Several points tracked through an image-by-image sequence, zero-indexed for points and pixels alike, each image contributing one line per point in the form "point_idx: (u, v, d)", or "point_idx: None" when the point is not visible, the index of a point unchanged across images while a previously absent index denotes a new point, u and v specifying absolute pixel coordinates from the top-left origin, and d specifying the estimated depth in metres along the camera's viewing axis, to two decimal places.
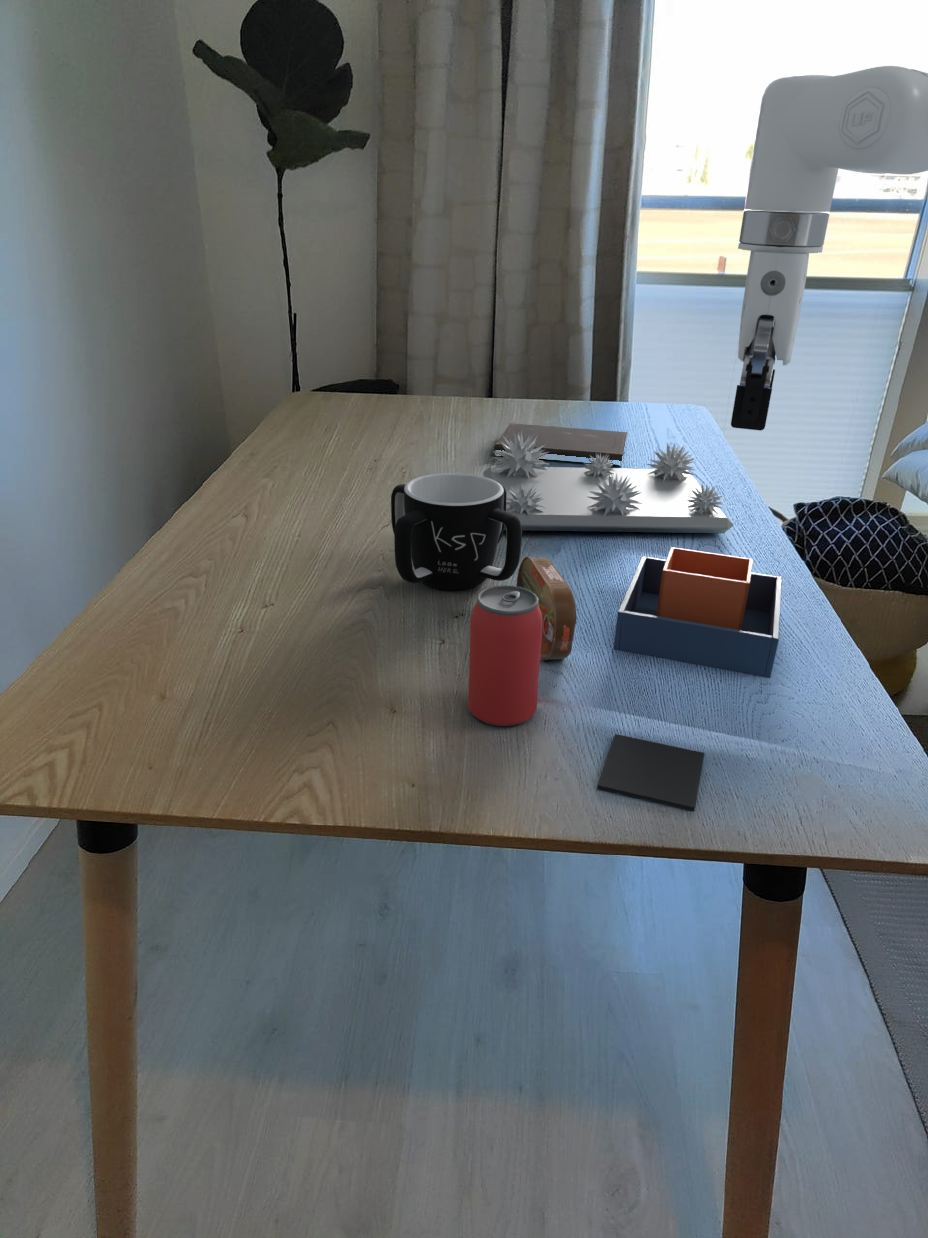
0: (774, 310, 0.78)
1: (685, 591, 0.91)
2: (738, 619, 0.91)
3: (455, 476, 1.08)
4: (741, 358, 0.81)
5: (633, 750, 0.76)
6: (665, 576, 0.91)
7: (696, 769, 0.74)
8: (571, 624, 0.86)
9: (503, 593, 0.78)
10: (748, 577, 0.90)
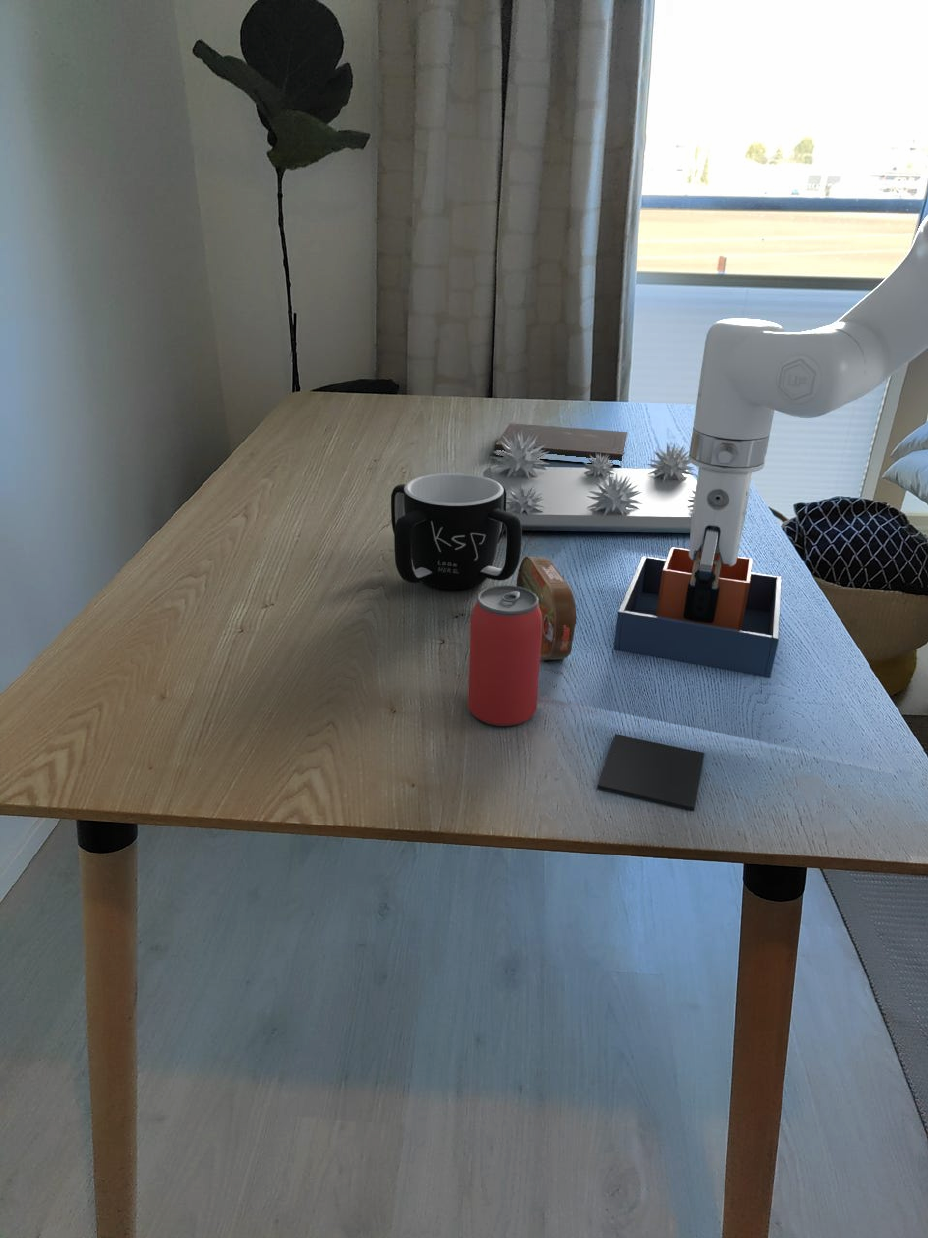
0: (719, 526, 0.85)
1: (685, 591, 0.91)
2: (738, 619, 0.91)
3: (455, 476, 1.08)
4: (691, 559, 0.88)
5: (633, 750, 0.76)
6: (665, 576, 0.91)
7: (696, 769, 0.74)
8: (571, 624, 0.86)
9: (503, 593, 0.78)
10: (748, 577, 0.90)
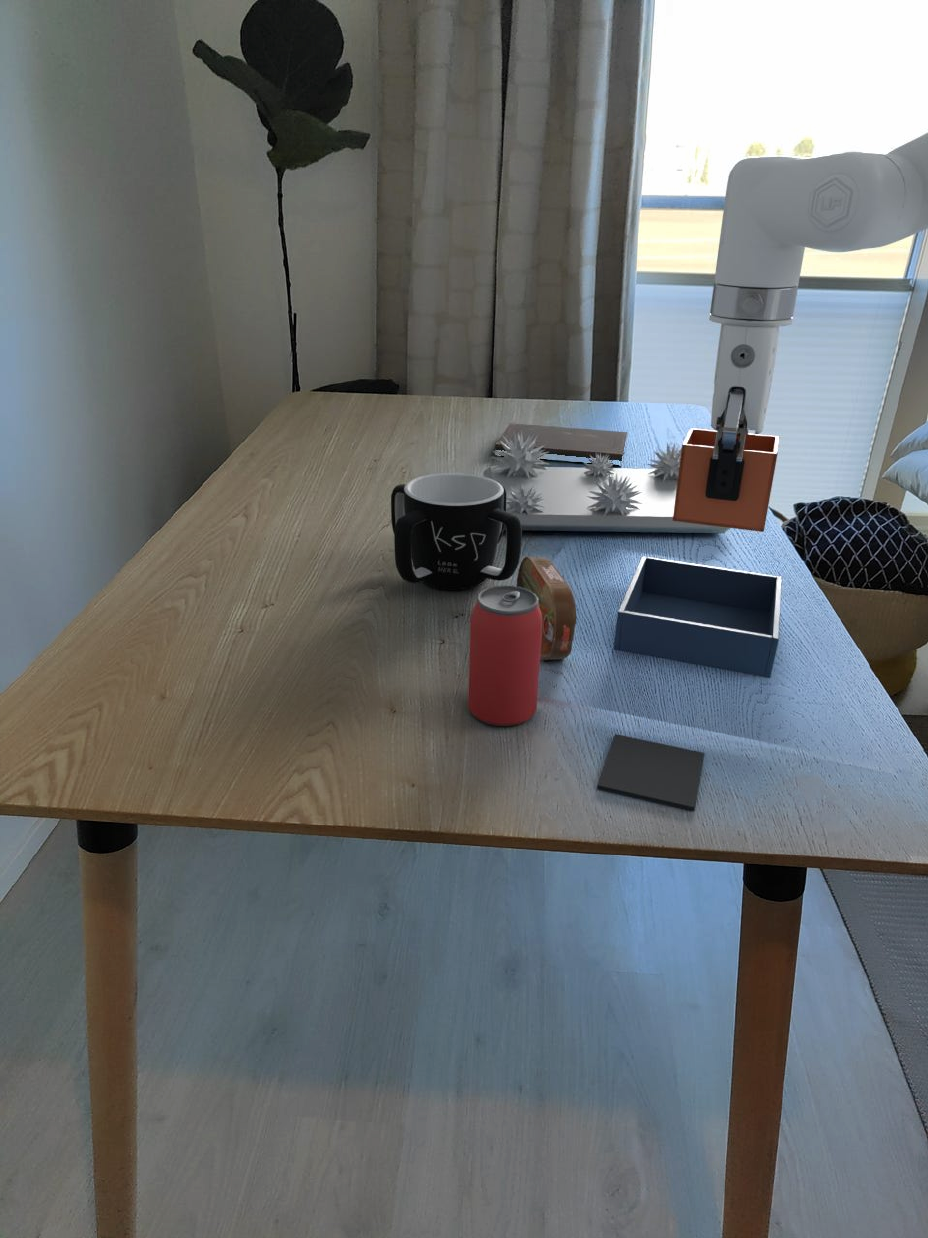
0: (744, 386, 0.79)
1: (707, 467, 0.85)
2: (765, 496, 0.84)
3: (455, 476, 1.08)
4: (714, 427, 0.82)
5: (633, 750, 0.76)
6: (685, 451, 0.85)
7: (696, 769, 0.74)
8: (571, 624, 0.86)
9: (503, 593, 0.78)
10: (775, 449, 0.83)
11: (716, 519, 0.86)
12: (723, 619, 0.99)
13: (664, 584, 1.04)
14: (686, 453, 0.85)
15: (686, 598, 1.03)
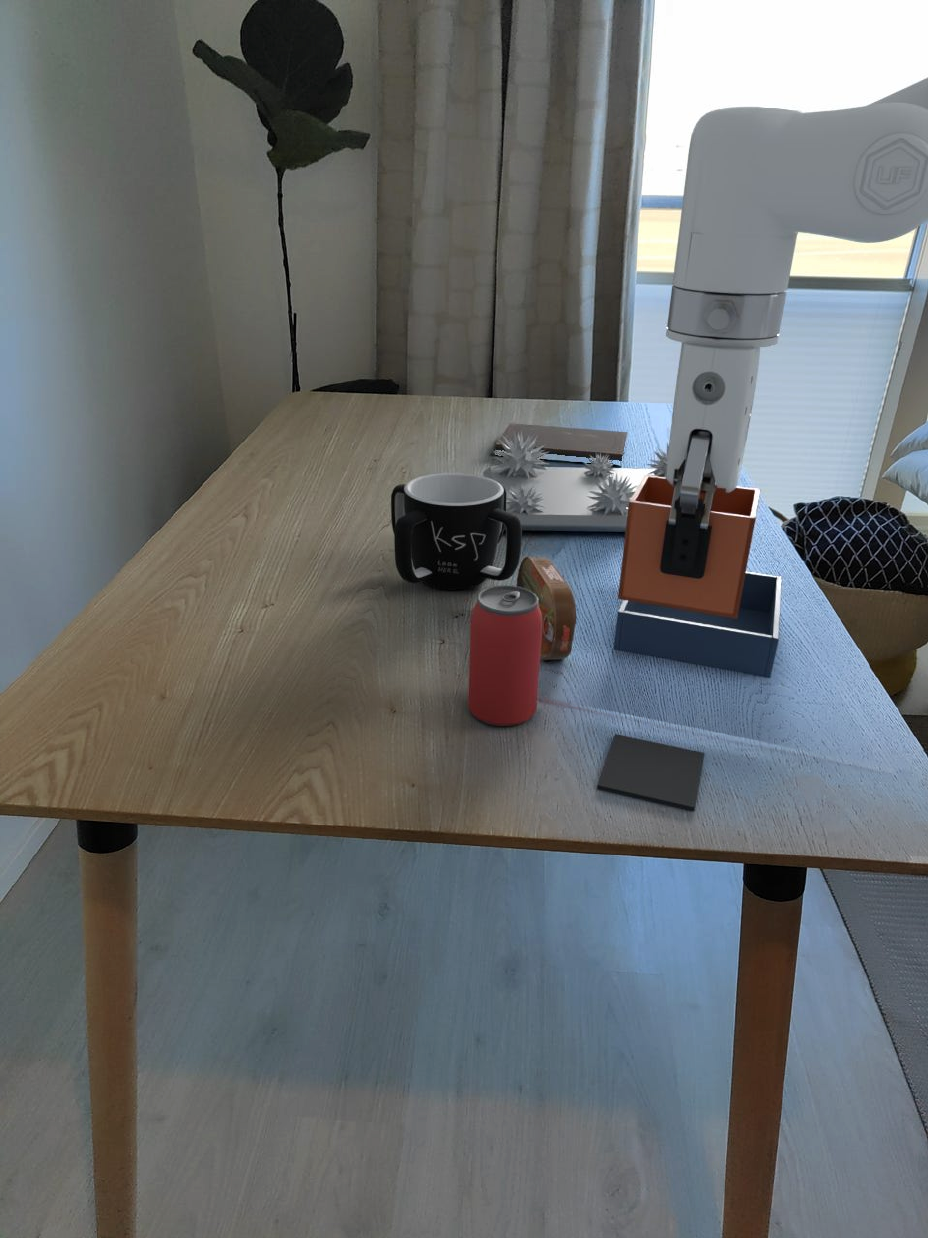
0: (710, 429, 0.57)
1: (662, 532, 0.63)
2: (738, 573, 0.62)
3: (455, 476, 1.08)
4: (670, 482, 0.60)
5: (633, 750, 0.76)
6: (633, 511, 0.63)
7: (696, 769, 0.74)
8: (571, 624, 0.86)
9: (503, 593, 0.78)
10: (753, 511, 0.62)
11: (674, 600, 0.65)
12: (723, 619, 0.99)
13: None
14: (634, 513, 0.63)
15: None
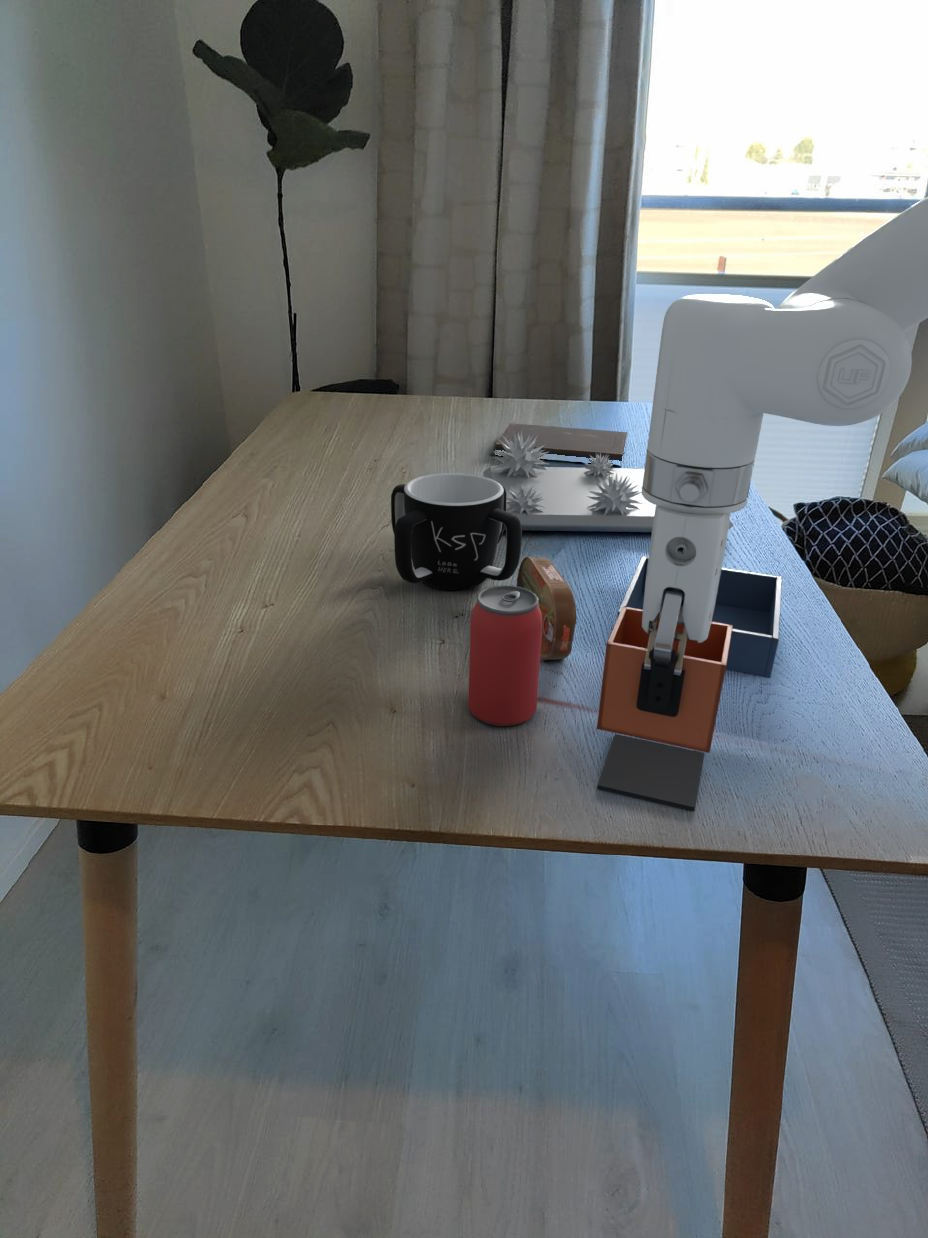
0: (682, 588, 0.60)
1: (638, 672, 0.66)
2: (710, 712, 0.66)
3: (455, 476, 1.08)
4: (645, 631, 0.63)
5: (633, 750, 0.76)
6: (610, 652, 0.66)
7: (696, 769, 0.74)
8: (571, 624, 0.86)
9: (503, 593, 0.78)
10: (724, 655, 0.65)
11: (650, 733, 0.68)
12: (723, 619, 0.99)
13: None
14: (612, 654, 0.66)
15: None
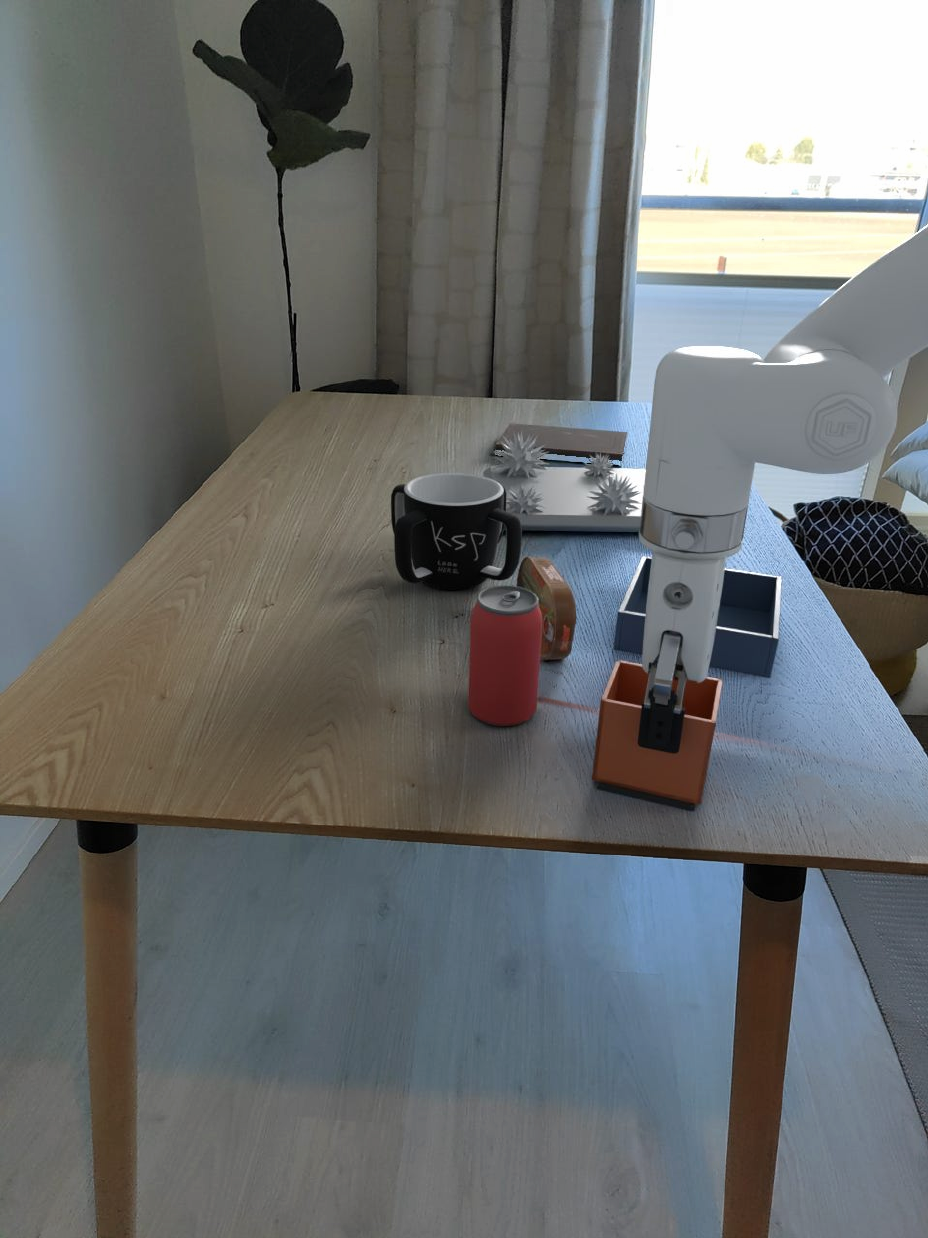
0: (681, 627, 0.62)
1: (631, 728, 0.69)
2: (701, 767, 0.68)
3: (455, 476, 1.08)
4: (646, 672, 0.65)
5: None
6: (604, 708, 0.69)
7: None
8: (571, 624, 0.86)
9: (503, 593, 0.78)
10: (714, 712, 0.67)
11: (643, 785, 0.71)
12: (723, 619, 0.99)
13: None
14: (606, 710, 0.69)
15: None
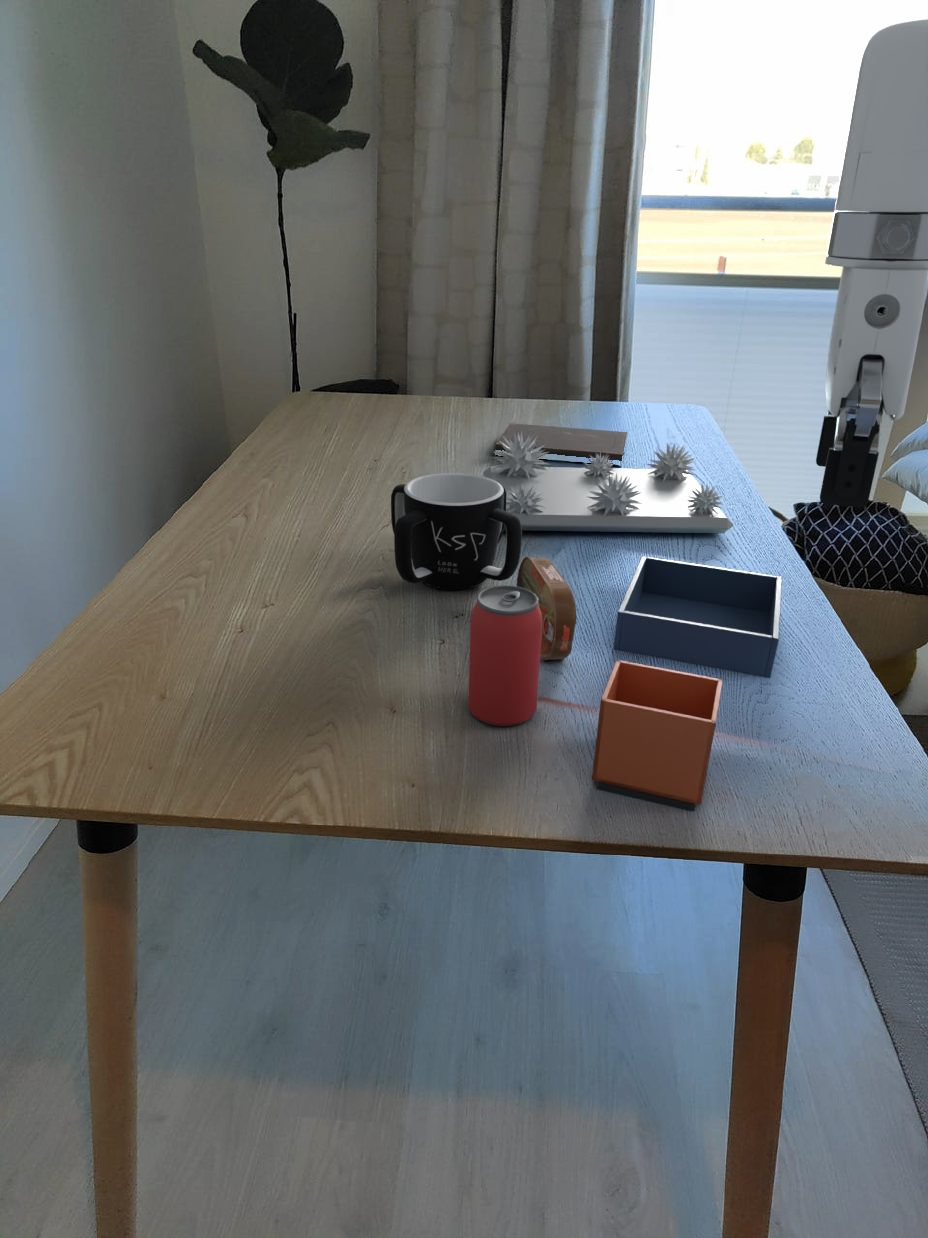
0: (884, 348, 0.56)
1: (631, 728, 0.69)
2: (701, 767, 0.68)
3: (455, 476, 1.08)
4: (835, 412, 0.60)
5: None
6: (604, 708, 0.69)
7: None
8: (571, 624, 0.86)
9: (503, 593, 0.78)
10: (714, 712, 0.67)
11: (643, 785, 0.71)
12: (723, 619, 0.99)
13: (664, 584, 1.04)
14: (606, 710, 0.69)
15: (686, 598, 1.03)
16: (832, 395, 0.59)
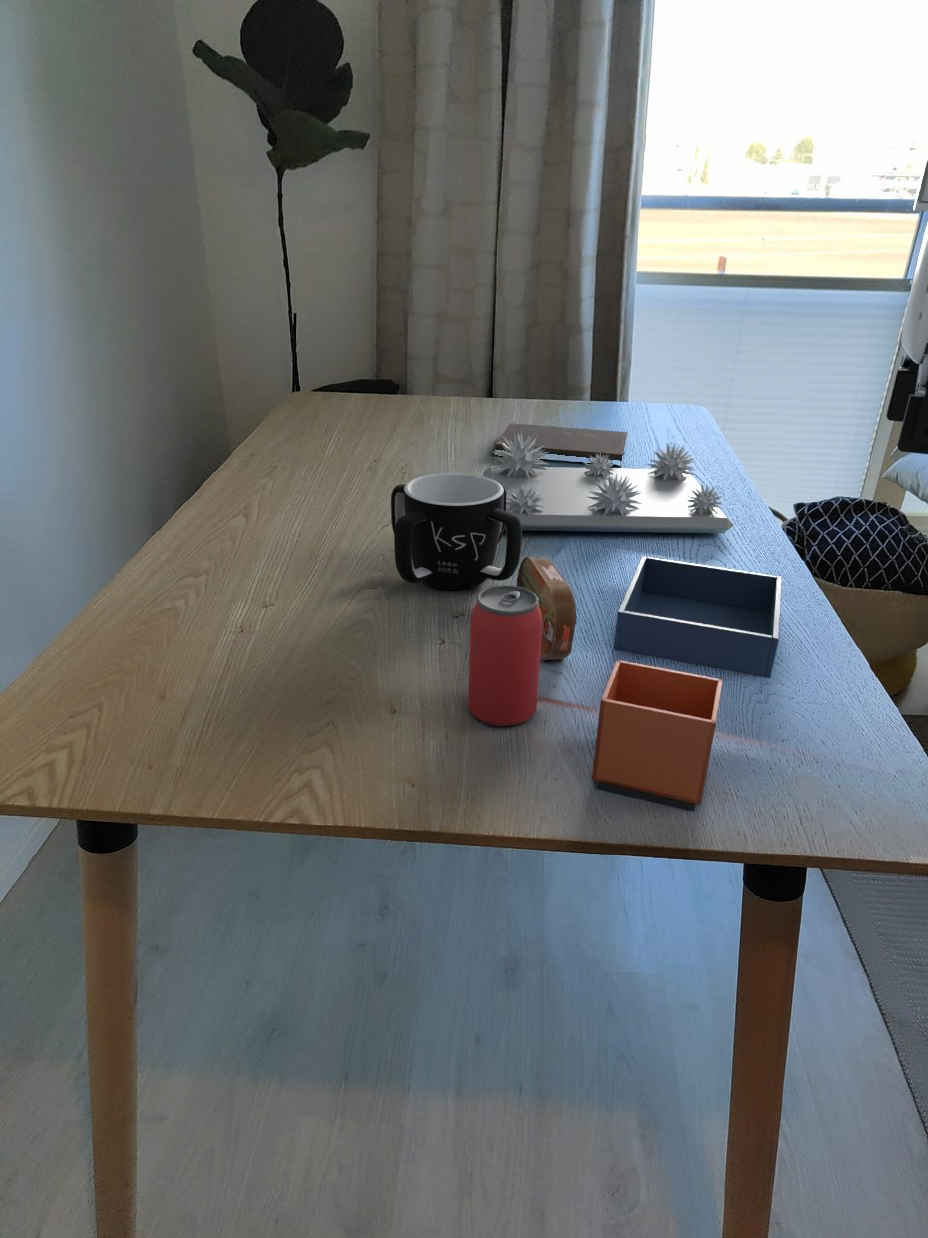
0: None
1: (631, 728, 0.69)
2: (701, 767, 0.68)
3: (455, 476, 1.08)
4: (918, 359, 0.60)
5: None
6: (604, 708, 0.69)
7: None
8: (571, 624, 0.86)
9: (503, 593, 0.78)
10: (714, 712, 0.67)
11: (643, 785, 0.71)
12: (723, 619, 0.99)
13: (664, 584, 1.04)
14: (606, 710, 0.69)
15: (686, 598, 1.03)
16: (916, 341, 0.60)
